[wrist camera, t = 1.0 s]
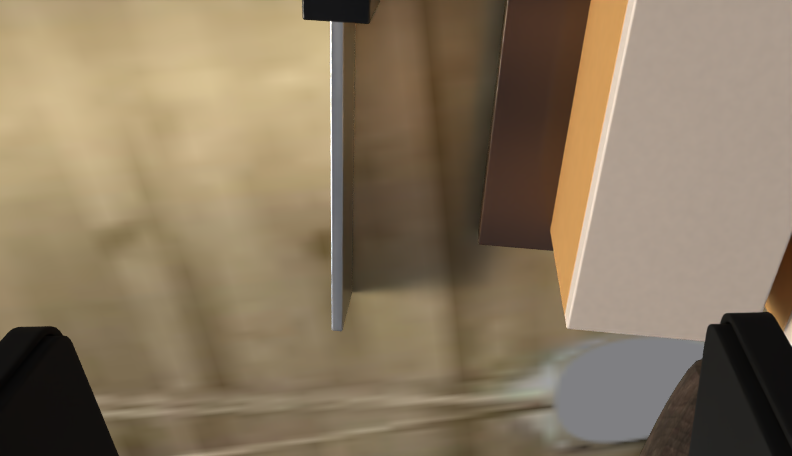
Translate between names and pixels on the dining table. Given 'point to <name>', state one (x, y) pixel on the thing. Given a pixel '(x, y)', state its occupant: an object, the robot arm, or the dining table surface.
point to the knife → (341, 136)
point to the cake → (678, 168)
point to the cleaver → (676, 419)
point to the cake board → (530, 120)
